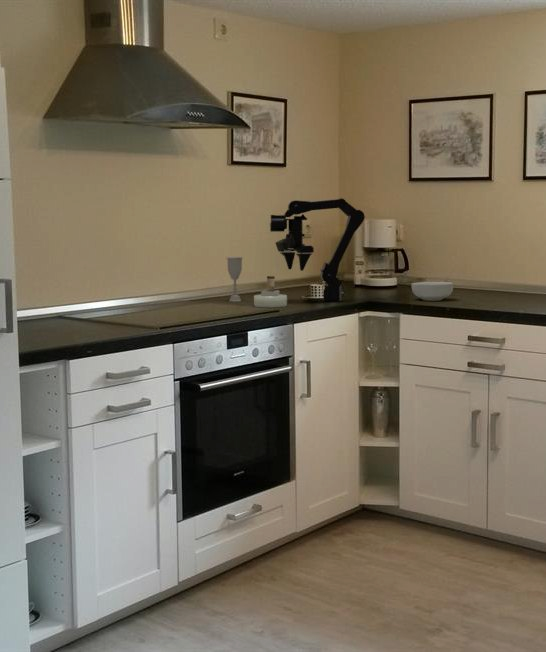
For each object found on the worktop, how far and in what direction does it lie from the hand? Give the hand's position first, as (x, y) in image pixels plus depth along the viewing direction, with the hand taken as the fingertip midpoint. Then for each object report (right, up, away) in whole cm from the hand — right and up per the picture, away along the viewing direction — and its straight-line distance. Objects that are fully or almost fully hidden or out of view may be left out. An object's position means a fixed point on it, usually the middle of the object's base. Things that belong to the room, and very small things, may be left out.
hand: (295, 270), depth 391 cm
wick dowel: (-10, -11, -13) cm, 20 cm away
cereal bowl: (+56, -12, +4) cm, 58 cm away
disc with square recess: (-10, -15, -13) cm, 22 cm away
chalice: (-25, -13, +8) cm, 29 cm away
